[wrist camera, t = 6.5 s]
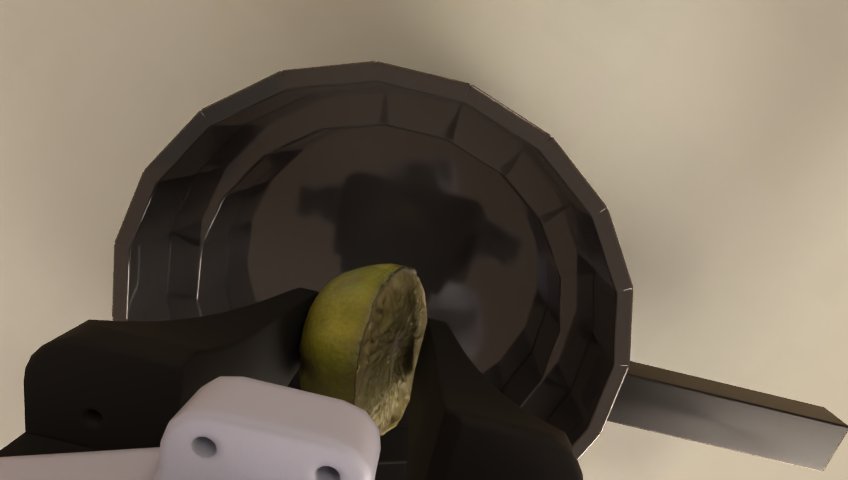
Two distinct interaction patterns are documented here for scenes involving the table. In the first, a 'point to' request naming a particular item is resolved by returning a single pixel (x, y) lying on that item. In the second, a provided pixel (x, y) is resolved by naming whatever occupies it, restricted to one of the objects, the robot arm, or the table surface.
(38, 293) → the table surface
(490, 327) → the skillet
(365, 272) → the lime
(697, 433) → the skillet handle
